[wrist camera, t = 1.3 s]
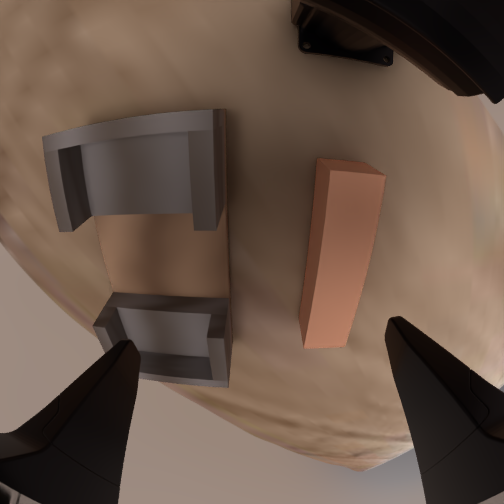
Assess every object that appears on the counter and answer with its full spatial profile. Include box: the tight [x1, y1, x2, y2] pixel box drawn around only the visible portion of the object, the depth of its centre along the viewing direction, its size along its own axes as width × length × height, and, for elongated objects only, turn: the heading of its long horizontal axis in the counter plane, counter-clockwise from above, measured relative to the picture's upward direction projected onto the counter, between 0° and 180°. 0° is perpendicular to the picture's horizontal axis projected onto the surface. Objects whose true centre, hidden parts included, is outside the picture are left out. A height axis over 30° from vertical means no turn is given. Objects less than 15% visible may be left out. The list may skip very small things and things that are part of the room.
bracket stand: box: [42, 109, 233, 388], centre depth 19 cm, size 10×20×6 cm, turn 179°
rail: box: [299, 158, 386, 349], centre depth 20 cm, size 14×4×4 cm, turn 179°
